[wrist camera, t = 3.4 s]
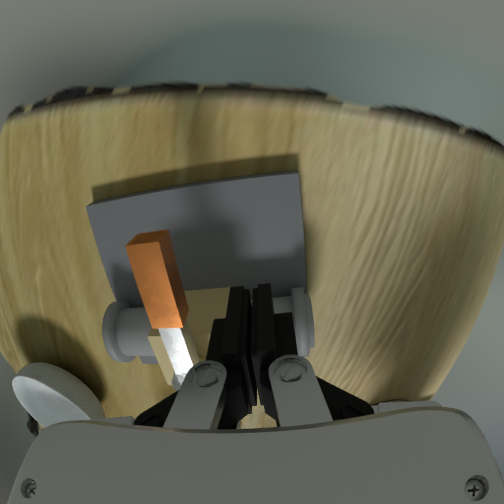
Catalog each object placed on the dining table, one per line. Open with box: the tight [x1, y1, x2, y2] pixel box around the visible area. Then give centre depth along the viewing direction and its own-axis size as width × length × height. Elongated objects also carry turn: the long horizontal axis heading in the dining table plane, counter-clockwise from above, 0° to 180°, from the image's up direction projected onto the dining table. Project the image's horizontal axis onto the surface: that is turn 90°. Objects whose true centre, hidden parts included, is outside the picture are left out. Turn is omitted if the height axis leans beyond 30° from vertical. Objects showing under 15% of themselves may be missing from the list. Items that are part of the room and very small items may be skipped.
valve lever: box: [125, 229, 202, 391], centre depth 20 cm, size 14×3×2 cm, turn 7°
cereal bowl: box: [12, 362, 106, 427], centre depth 37 cm, size 17×17×7 cm
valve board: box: [86, 170, 314, 385], centre depth 26 cm, size 20×20×9 cm
